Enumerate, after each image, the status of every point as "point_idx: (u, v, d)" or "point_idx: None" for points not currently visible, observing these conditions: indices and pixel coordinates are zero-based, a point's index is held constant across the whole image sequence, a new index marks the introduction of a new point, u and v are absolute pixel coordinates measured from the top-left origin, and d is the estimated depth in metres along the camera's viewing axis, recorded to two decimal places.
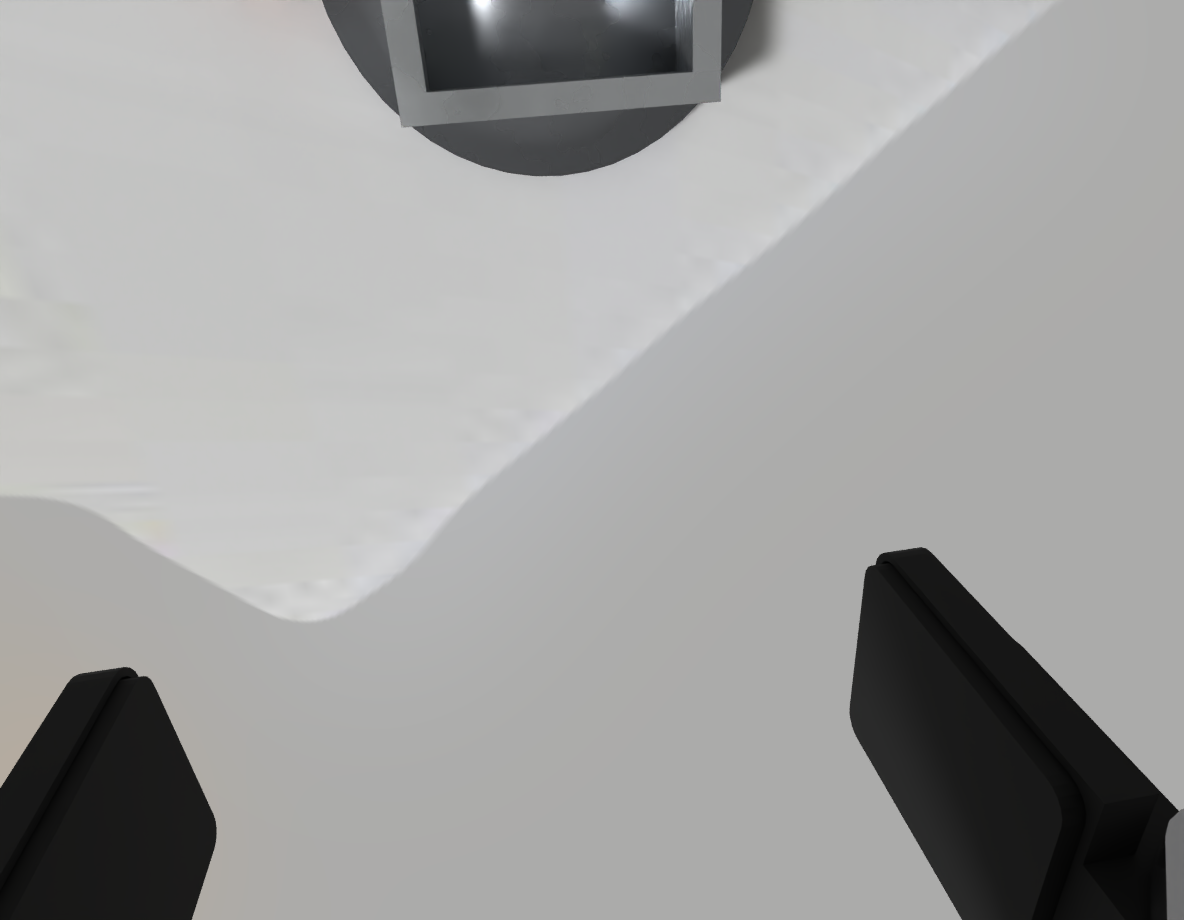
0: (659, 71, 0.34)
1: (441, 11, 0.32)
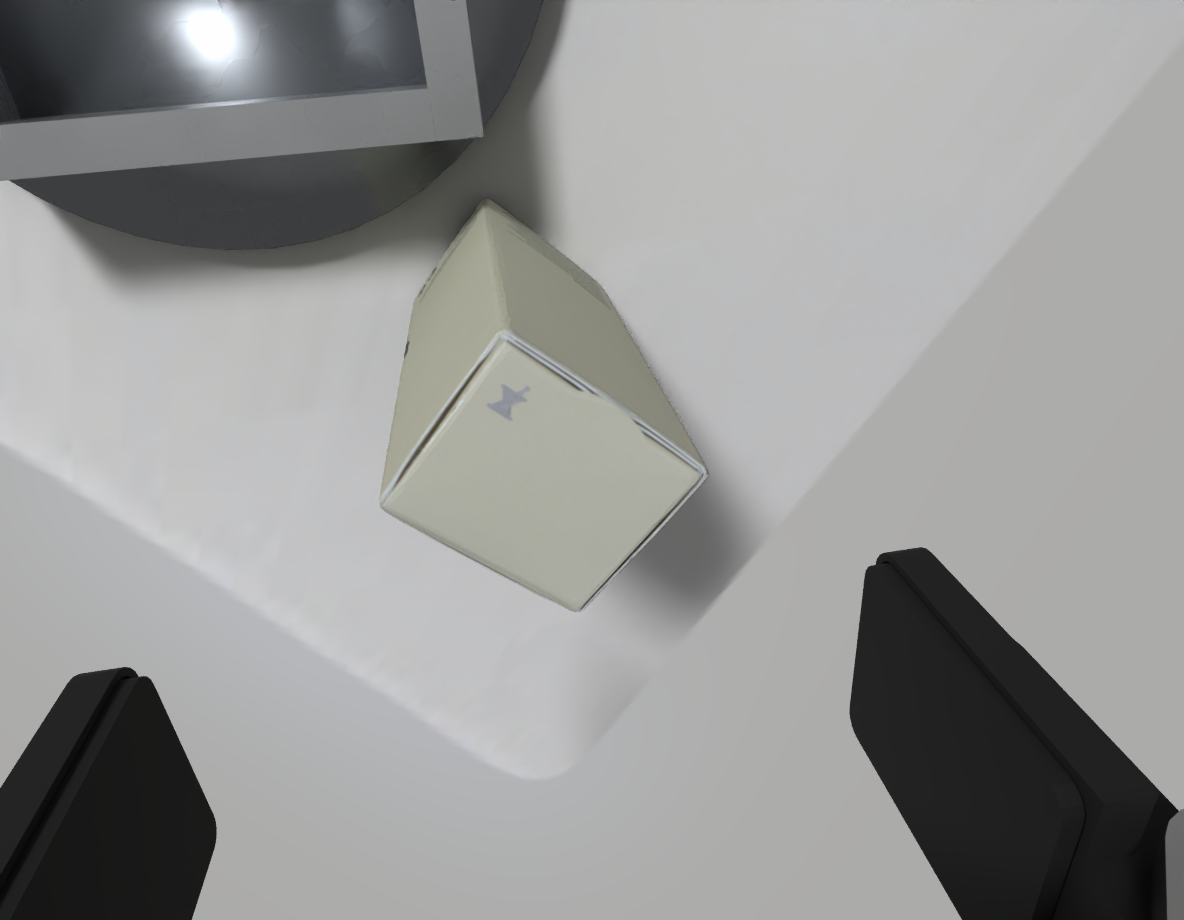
0: (8, 87, 0.20)
1: None
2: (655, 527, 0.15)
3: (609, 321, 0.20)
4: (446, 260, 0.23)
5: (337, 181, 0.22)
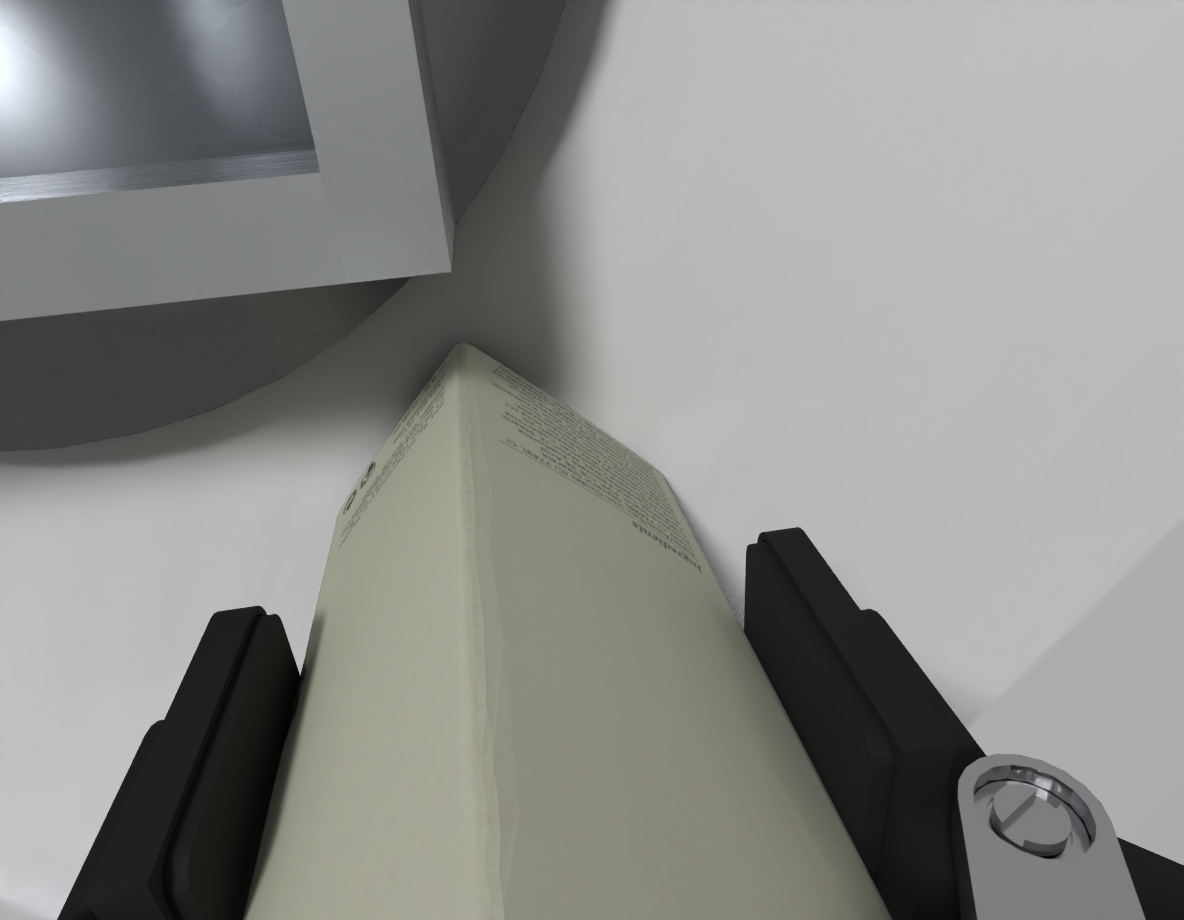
0: None
1: None
2: None
3: (720, 648, 0.10)
4: (389, 467, 0.12)
5: (176, 328, 0.12)
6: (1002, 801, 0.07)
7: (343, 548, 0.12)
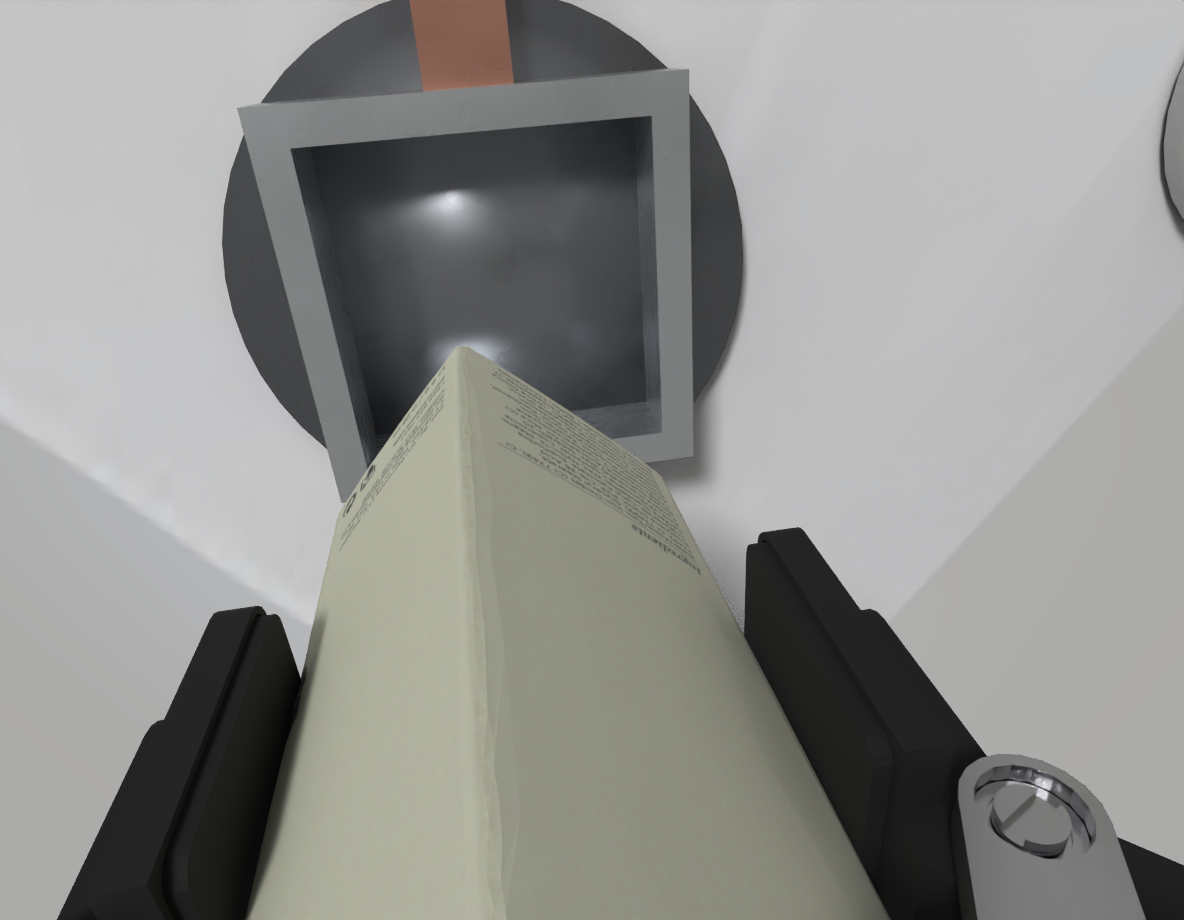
0: (373, 418, 0.30)
1: (402, 162, 0.26)
2: None
3: (720, 650, 0.10)
4: (389, 470, 0.12)
5: None
6: (1002, 801, 0.07)
7: (343, 551, 0.12)
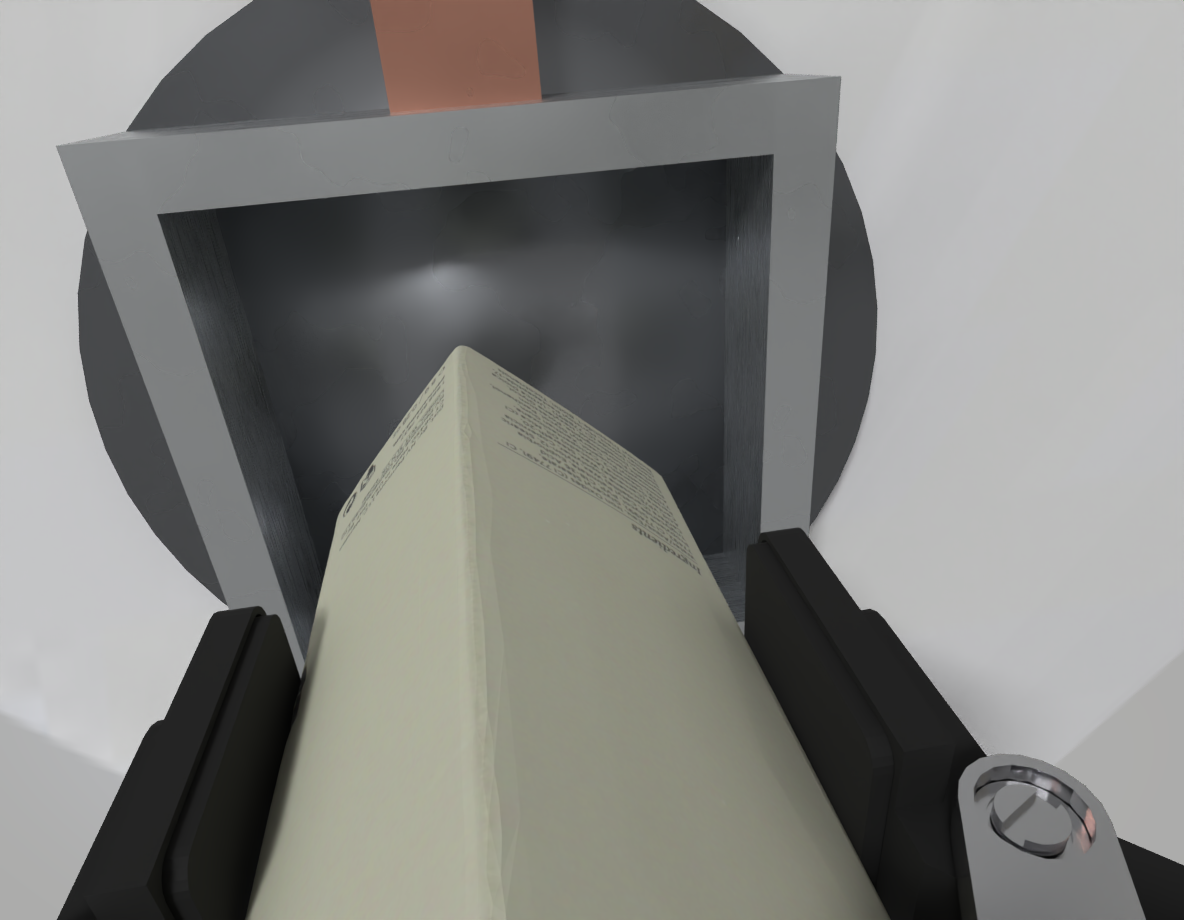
0: None
1: (362, 222, 0.17)
2: None
3: (720, 650, 0.10)
4: (389, 470, 0.12)
5: None
6: (1002, 801, 0.07)
7: (343, 551, 0.12)
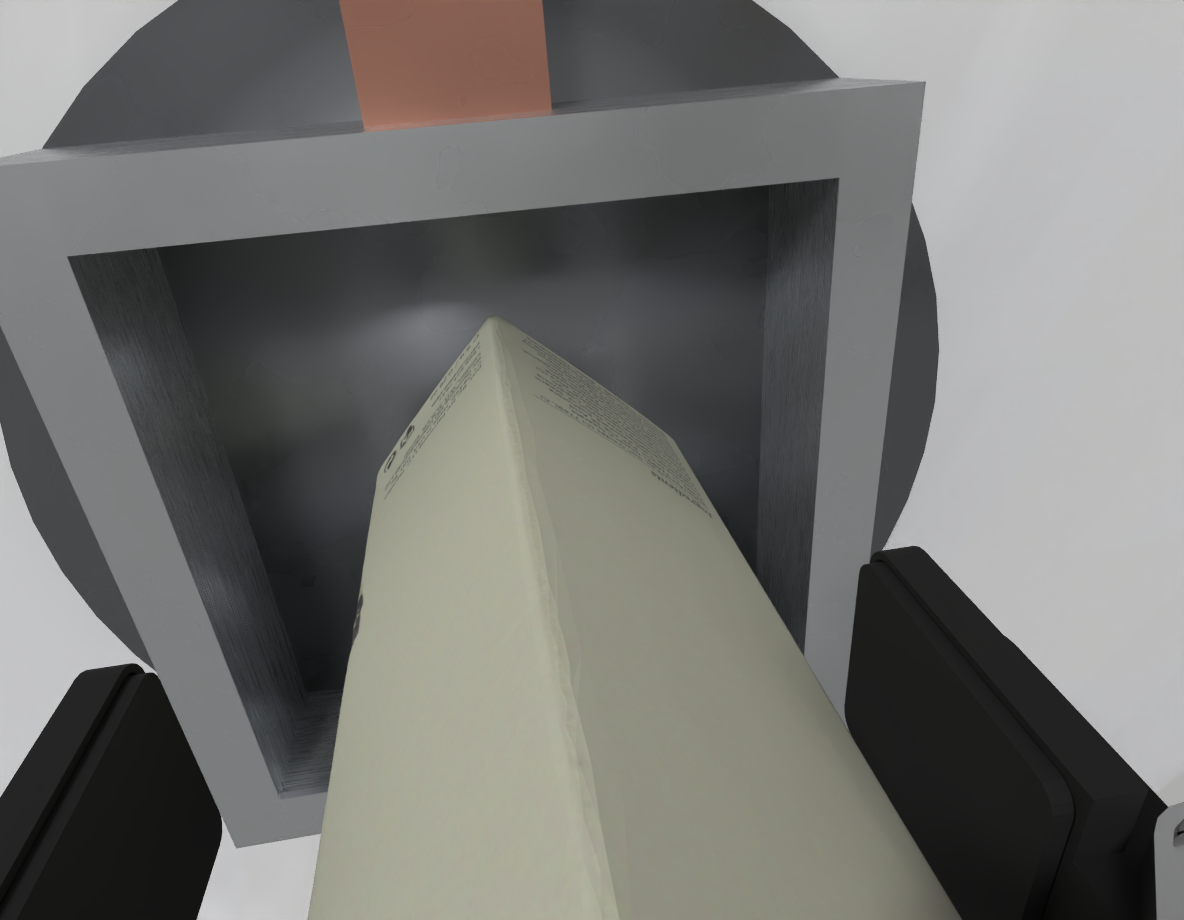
0: (299, 670, 0.18)
1: (334, 256, 0.14)
2: None
3: (731, 574, 0.11)
4: (430, 426, 0.14)
5: None
6: None
7: (389, 498, 0.13)
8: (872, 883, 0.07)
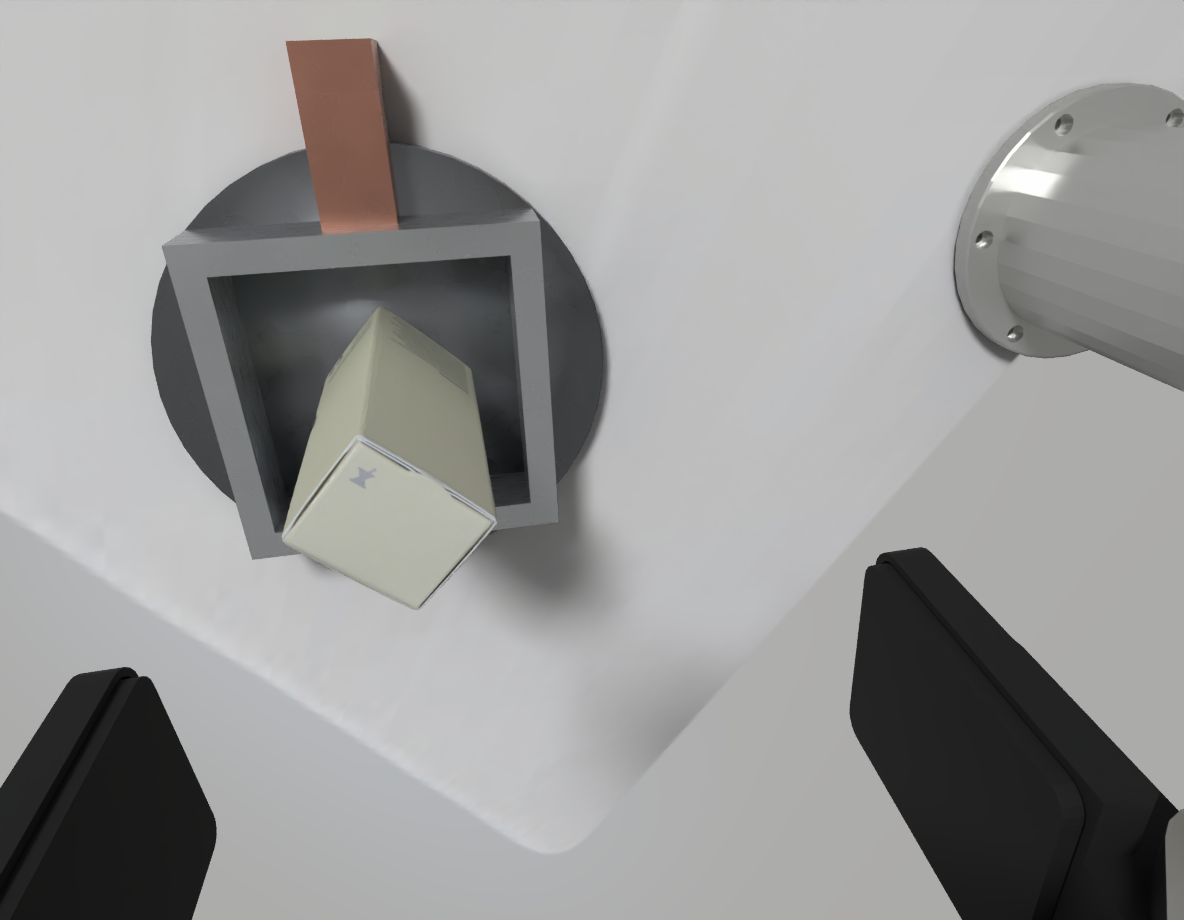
0: (284, 484, 0.35)
1: (308, 277, 0.31)
2: (465, 554, 0.24)
3: (459, 406, 0.29)
4: (348, 353, 0.31)
5: None
6: None
7: (329, 383, 0.31)
8: (452, 458, 0.24)
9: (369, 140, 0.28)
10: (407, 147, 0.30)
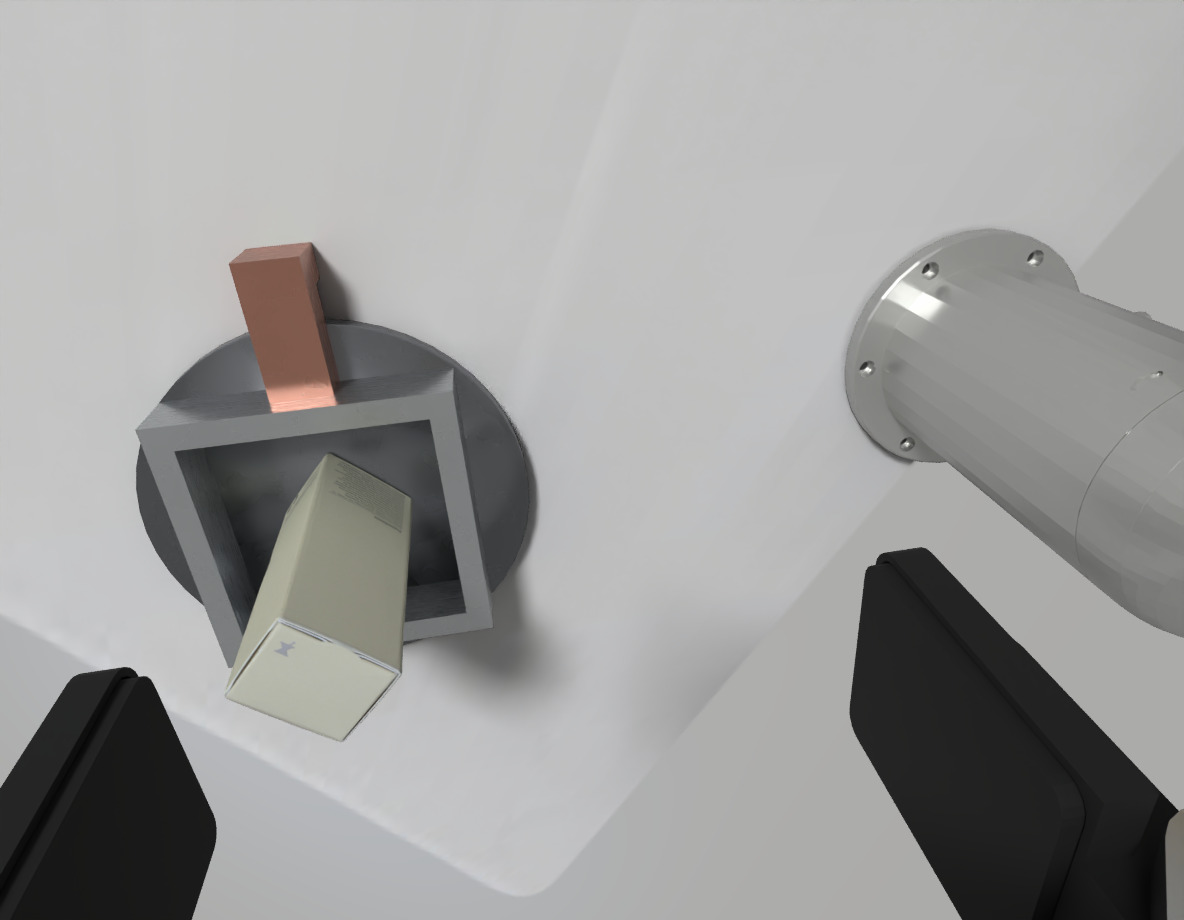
0: (256, 597, 0.41)
1: None
2: (377, 699, 0.29)
3: (388, 552, 0.34)
4: (300, 498, 0.36)
5: None
6: None
7: (284, 525, 0.36)
8: (367, 617, 0.29)
9: (305, 333, 0.33)
10: (341, 327, 0.35)
